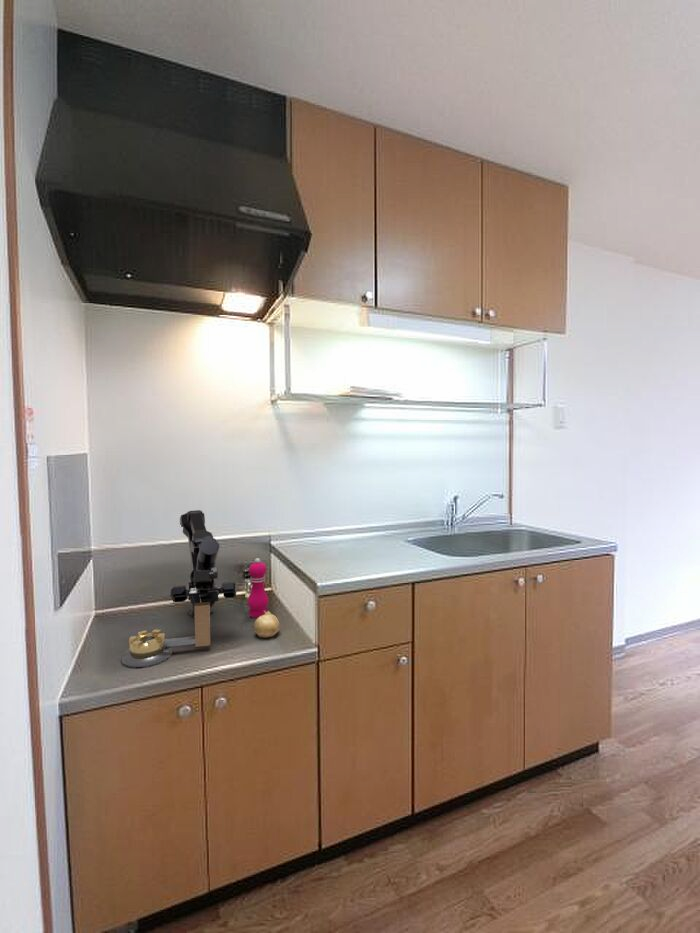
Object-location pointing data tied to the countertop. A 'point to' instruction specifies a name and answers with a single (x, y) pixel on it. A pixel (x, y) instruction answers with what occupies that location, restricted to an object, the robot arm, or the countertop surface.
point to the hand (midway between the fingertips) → (202, 619)
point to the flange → (147, 661)
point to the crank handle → (156, 642)
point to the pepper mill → (257, 590)
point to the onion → (266, 625)
